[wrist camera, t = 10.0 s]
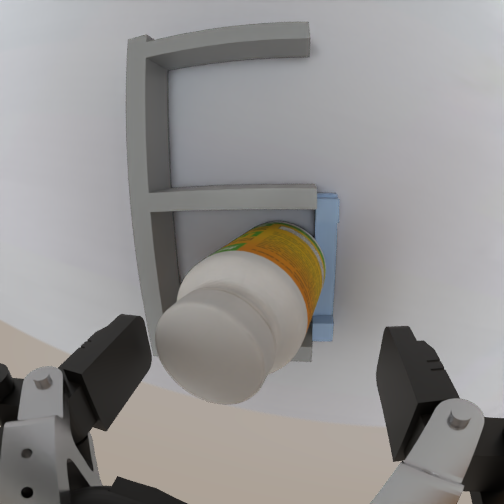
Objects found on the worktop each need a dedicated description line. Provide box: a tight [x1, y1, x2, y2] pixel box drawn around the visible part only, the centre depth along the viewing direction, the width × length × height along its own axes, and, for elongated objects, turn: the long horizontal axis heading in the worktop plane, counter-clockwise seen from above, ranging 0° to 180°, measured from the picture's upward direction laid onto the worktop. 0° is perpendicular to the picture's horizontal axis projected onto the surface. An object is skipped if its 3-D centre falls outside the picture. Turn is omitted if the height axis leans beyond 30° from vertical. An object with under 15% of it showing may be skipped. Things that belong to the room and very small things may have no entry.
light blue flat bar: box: [312, 193, 339, 341], centre depth 18 cm, size 8×1×2 cm, turn 2°
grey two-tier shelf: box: [126, 22, 317, 362], centre depth 17 cm, size 19×10×3 cm, turn 2°
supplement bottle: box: [155, 221, 326, 405], centre depth 14 cm, size 5×5×10 cm
